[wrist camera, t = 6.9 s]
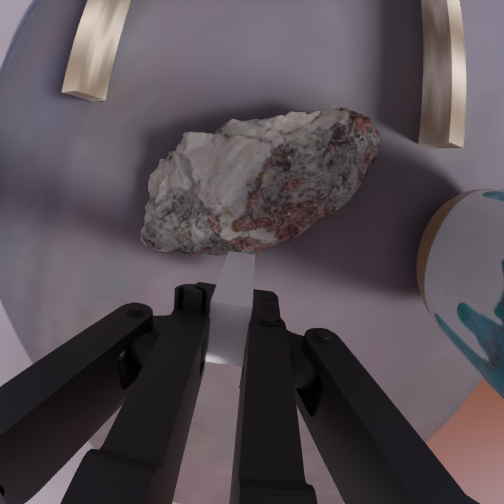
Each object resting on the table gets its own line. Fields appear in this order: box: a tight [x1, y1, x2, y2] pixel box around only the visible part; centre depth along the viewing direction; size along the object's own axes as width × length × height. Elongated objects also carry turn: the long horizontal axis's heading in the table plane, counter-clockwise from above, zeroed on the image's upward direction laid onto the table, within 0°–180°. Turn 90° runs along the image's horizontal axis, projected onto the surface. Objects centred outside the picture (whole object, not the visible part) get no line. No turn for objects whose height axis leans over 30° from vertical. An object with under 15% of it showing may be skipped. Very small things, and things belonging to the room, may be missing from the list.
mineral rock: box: [140, 105, 381, 257], centre depth 17 cm, size 15×8×4 cm, turn 98°
